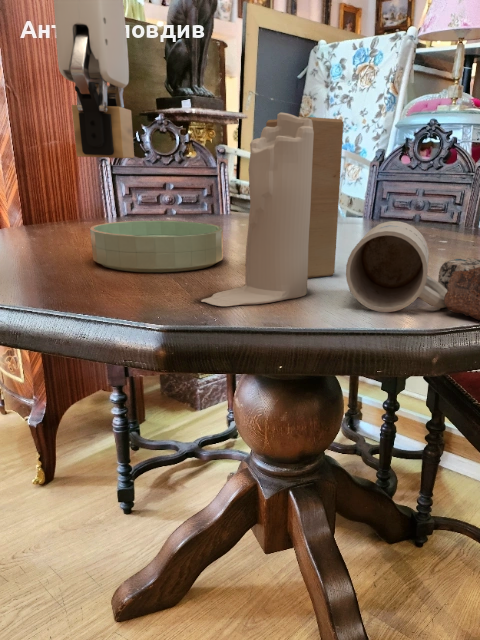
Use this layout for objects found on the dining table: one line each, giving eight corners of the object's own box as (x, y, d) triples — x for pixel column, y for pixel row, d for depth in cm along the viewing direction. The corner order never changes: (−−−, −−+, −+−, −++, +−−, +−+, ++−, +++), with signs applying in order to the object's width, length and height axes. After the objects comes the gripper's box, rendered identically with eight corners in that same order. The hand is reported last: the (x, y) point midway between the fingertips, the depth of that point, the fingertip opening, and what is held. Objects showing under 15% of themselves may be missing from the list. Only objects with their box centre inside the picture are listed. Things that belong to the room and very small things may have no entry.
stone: (464, 273, 63) (452, 259, 61) (529, 270, 58) (518, 255, 56) (450, 326, 62) (437, 314, 60) (514, 328, 57) (503, 315, 55)
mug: (343, 258, 70) (329, 273, 61) (392, 205, 66) (386, 213, 57) (413, 326, 71) (409, 350, 62) (465, 277, 67) (470, 296, 58)
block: (76, 156, 60) (71, 104, 58) (91, 156, 65) (86, 108, 63) (123, 158, 60) (119, 106, 58) (134, 158, 65) (131, 110, 63)
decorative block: (262, 265, 85) (264, 119, 77) (294, 262, 87) (299, 122, 80) (302, 279, 76) (308, 116, 68) (336, 275, 79) (345, 119, 71)
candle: (189, 298, 64) (182, 104, 56) (279, 283, 73) (283, 114, 65) (228, 311, 59) (225, 100, 52) (319, 293, 68) (328, 112, 60)
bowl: (76, 272, 76) (71, 234, 74) (112, 250, 94) (109, 219, 92) (217, 275, 77) (216, 238, 75) (226, 252, 95) (226, 222, 93)
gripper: (80, -20, 63) (95, 154, 70) (13, -78, 47) (42, 153, 54) (146, -17, 63) (155, 156, 70) (102, -74, 48) (119, 156, 55)
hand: (106, 152), depth 62 cm, fingers closed on block, 5 cm apart
